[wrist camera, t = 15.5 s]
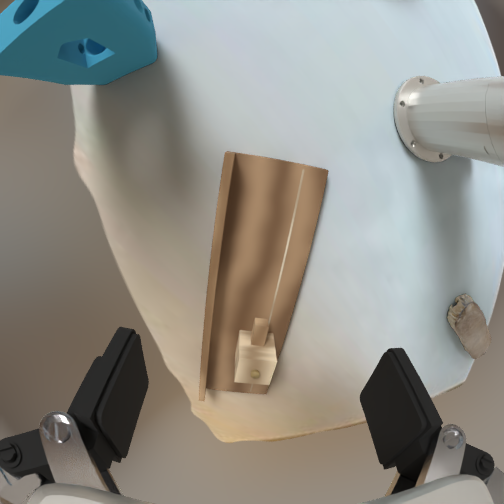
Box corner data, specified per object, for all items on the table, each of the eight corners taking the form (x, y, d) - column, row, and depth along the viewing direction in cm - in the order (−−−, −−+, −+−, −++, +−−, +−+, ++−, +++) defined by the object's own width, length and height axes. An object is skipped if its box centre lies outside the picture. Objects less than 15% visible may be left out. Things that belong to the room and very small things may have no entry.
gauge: (278, 314, 38) (283, 345, 32) (262, 371, 43) (264, 401, 36) (243, 310, 38) (243, 341, 31) (232, 368, 42) (231, 399, 36)
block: (89, 93, 26) (-23, 78, 8) (84, 63, 24) (-20, 35, 6) (172, 55, 25) (97, -20, 7) (164, 26, 24) (96, -56, 5)
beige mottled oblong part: (486, 332, 47) (496, 343, 42) (466, 353, 49) (476, 365, 44) (464, 284, 40) (478, 297, 36) (439, 312, 42) (452, 327, 38)
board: (325, 169, 32) (336, 173, 28) (265, 388, 47) (267, 406, 42) (227, 151, 31) (224, 152, 27) (201, 381, 46) (198, 400, 41)
